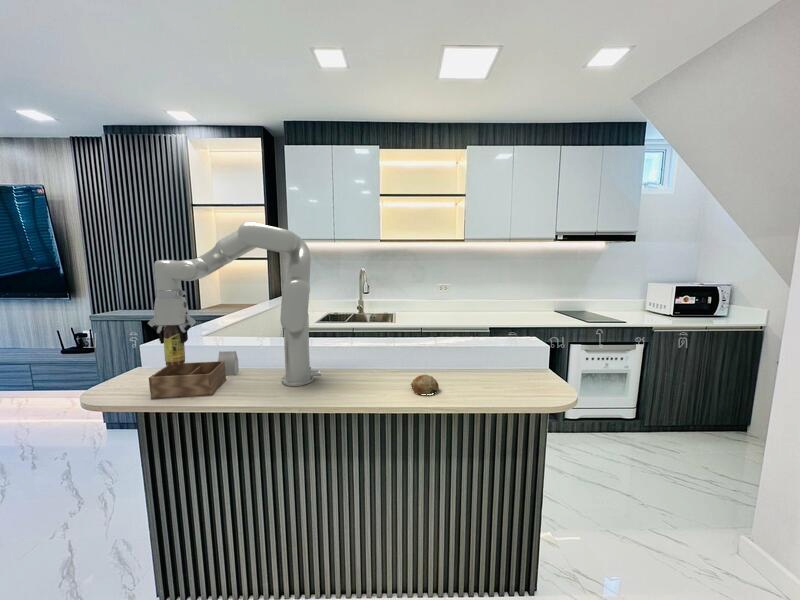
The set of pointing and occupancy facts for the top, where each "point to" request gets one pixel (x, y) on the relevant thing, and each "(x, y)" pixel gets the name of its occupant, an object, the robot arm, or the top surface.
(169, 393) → the crate
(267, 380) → the top surface
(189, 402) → the top surface
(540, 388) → the top surface
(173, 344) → the sauce bottle
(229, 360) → the printed food box
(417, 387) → the bread roll
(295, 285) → the robot arm
